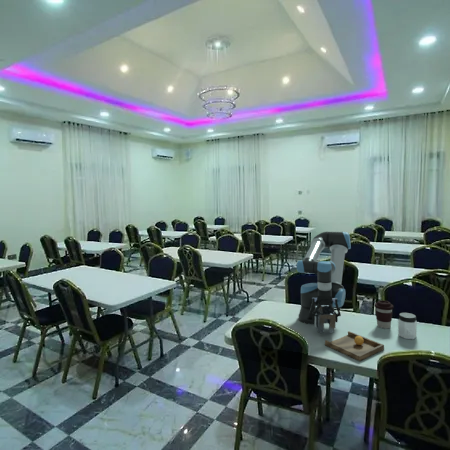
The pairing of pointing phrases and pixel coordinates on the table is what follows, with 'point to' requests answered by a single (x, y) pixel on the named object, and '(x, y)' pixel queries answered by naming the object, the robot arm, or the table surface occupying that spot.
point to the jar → (407, 325)
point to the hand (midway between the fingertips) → (325, 327)
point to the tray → (355, 346)
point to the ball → (359, 340)
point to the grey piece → (325, 318)
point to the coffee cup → (384, 314)
